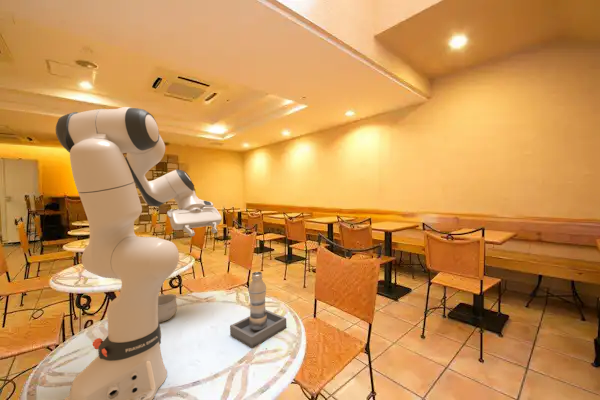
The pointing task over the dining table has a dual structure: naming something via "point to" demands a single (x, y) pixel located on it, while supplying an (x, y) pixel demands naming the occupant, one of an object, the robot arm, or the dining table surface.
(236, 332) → the tray
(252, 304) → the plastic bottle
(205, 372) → the dining table surface
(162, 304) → the teacup
